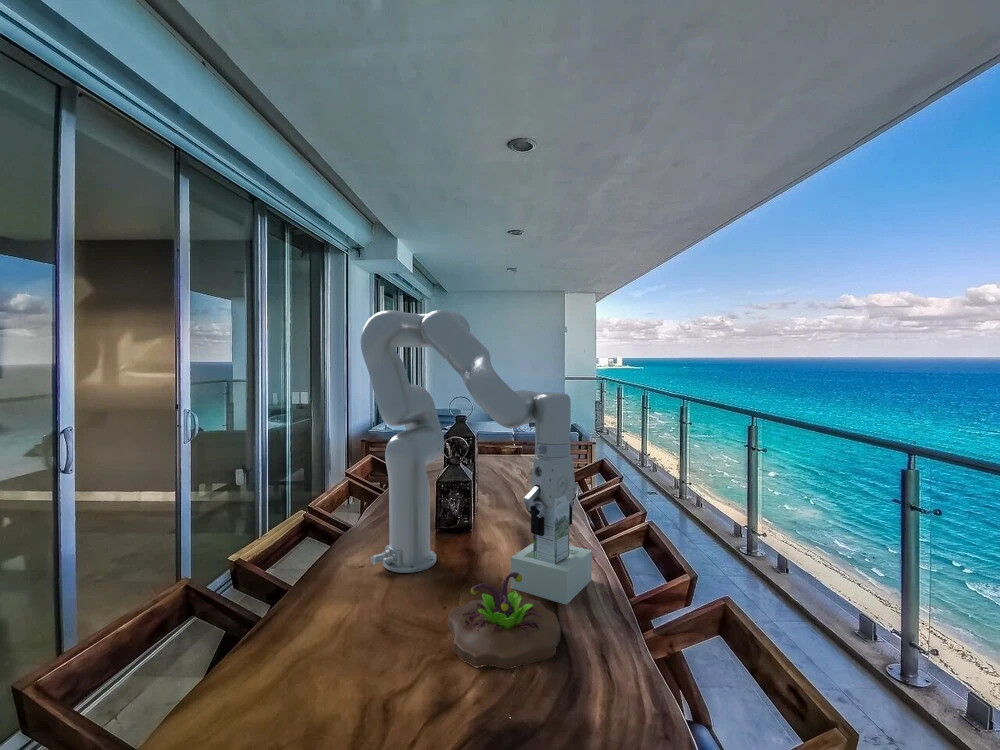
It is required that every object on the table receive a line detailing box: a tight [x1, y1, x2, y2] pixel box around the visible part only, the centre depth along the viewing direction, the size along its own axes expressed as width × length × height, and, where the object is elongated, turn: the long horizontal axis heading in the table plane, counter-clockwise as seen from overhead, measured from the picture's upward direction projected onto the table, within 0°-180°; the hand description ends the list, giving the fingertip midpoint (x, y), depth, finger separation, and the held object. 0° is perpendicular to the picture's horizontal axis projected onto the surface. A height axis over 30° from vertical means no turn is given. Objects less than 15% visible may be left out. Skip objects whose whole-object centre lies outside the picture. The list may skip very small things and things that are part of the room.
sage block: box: [510, 542, 593, 605], centre depth 108 cm, size 13×13×7 cm
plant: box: [447, 572, 561, 670], centre depth 89 cm, size 20×20×11 cm
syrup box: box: [532, 495, 570, 564], centre depth 108 cm, size 6×6×14 cm
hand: (552, 528), depth 108 cm, fingers open, 9 cm apart
